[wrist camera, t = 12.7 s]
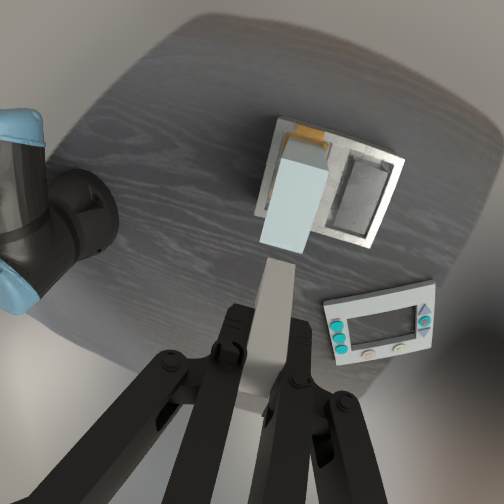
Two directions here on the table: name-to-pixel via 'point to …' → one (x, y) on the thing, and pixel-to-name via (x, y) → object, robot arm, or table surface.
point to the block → (295, 195)
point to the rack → (339, 180)
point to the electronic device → (378, 303)
